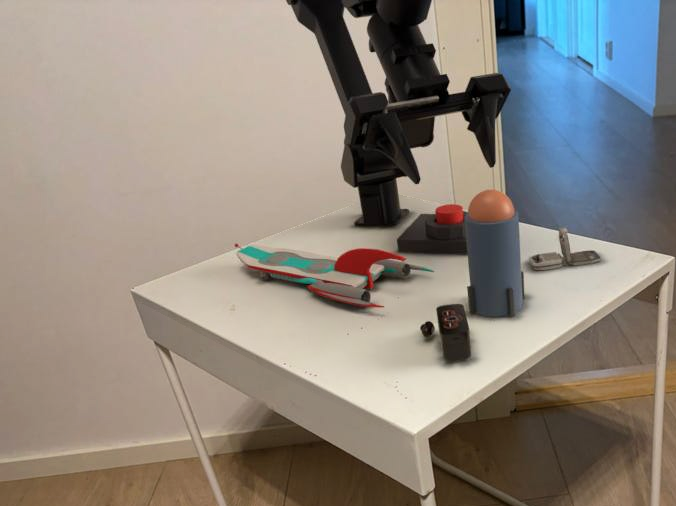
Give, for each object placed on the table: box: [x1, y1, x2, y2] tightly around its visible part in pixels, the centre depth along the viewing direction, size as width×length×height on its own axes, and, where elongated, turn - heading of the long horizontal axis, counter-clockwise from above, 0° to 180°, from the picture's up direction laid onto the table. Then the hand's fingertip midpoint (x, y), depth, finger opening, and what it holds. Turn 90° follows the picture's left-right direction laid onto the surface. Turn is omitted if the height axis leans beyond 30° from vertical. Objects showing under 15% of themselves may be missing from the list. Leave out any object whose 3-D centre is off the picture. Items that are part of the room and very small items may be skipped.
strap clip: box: [528, 227, 601, 271], centre depth 87 cm, size 8×3×4 cm, turn 100°
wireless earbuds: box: [419, 303, 472, 363], centre depth 71 cm, size 5×7×3 cm, turn 7°
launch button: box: [435, 203, 464, 225], centre depth 94 cm, size 4×4×2 cm
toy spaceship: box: [234, 243, 435, 309], centre depth 88 cm, size 27×11×5 cm, turn 64°
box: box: [396, 210, 468, 255], centre depth 97 cm, size 10×10×4 cm
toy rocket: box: [464, 189, 526, 318], centre depth 76 cm, size 7×7×13 cm
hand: (456, 173), depth 78 cm, fingers open, 9 cm apart
